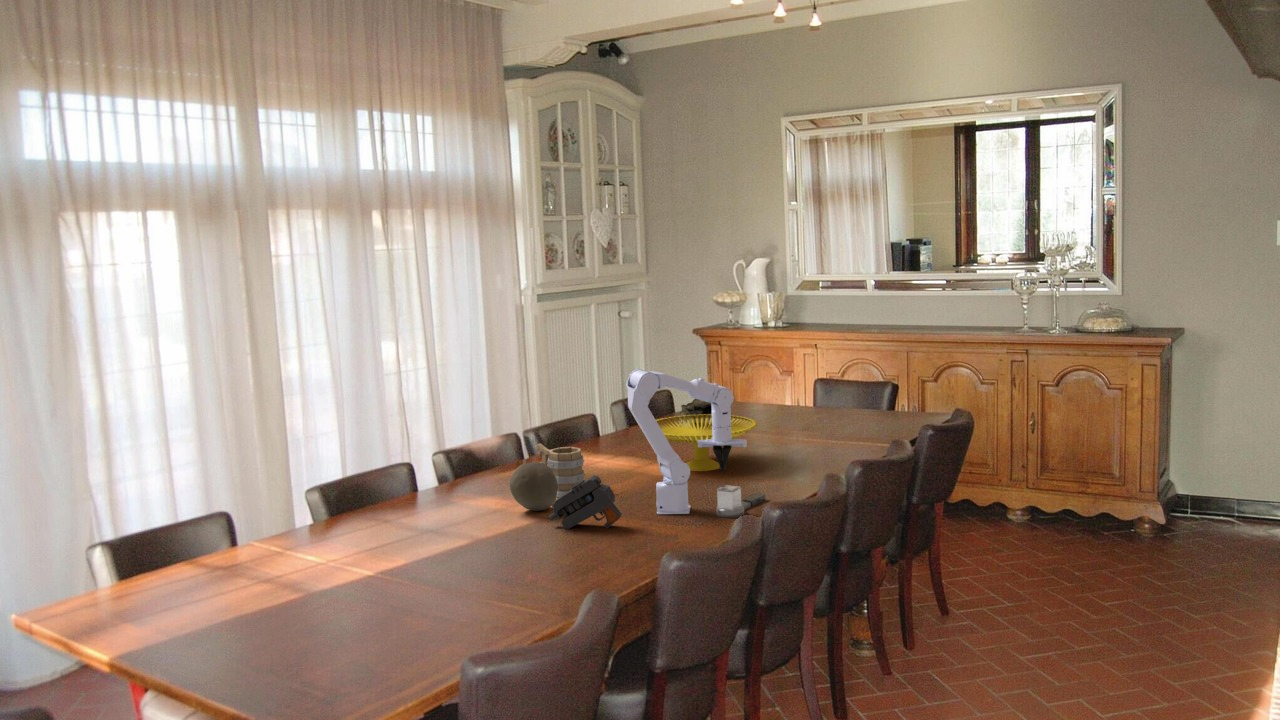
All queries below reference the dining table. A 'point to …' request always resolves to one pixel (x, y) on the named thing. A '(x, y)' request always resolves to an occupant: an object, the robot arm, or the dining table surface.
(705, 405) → the dark rounded lump
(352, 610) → the dining table surface
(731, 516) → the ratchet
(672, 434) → the cake stand
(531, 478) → the cantaloupe
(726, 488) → the white boxy piece
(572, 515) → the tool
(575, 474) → the tankard
